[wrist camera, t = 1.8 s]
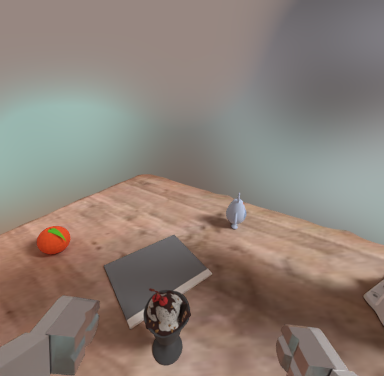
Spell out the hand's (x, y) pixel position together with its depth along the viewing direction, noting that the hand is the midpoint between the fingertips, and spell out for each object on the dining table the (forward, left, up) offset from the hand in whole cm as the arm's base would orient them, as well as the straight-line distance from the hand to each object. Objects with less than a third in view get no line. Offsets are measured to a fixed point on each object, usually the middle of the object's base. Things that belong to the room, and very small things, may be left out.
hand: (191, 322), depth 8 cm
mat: (-11, -27, -29) cm, 41 cm away
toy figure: (-40, -27, -30) cm, 57 cm away
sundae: (-5, -11, -30) cm, 32 cm away
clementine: (+7, -46, -30) cm, 55 cm away
